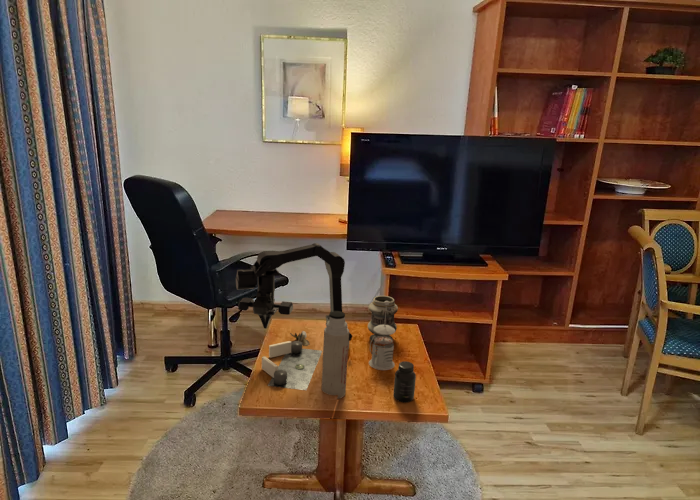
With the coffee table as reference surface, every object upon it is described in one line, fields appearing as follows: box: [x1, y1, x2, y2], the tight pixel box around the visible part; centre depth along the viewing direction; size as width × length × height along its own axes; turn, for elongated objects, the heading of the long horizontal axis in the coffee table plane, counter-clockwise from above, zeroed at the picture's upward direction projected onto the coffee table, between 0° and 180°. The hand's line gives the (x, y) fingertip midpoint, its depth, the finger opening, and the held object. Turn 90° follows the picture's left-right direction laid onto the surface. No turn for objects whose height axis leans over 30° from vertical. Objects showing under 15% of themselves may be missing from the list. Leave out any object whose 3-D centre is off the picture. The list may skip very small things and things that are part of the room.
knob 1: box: [268, 340, 303, 359], centre depth 180 cm, size 13×4×4 cm, turn 123°
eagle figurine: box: [289, 330, 311, 347], centre depth 190 cm, size 8×7×9 cm
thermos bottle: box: [321, 311, 350, 400], centre depth 156 cm, size 8×8×28 cm
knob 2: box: [261, 356, 287, 385], centre depth 163 cm, size 13×4×4 cm, turn 41°
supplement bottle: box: [392, 360, 417, 404], centre depth 157 cm, size 7×7×12 cm
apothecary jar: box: [367, 295, 399, 343], centre depth 199 cm, size 12×12×18 cm
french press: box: [368, 301, 396, 371], centre depth 177 cm, size 10×12×25 cm
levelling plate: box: [267, 348, 323, 391], centre depth 171 cm, size 13×29×2 cm, turn 173°
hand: (265, 328), depth 174 cm, fingers closed
